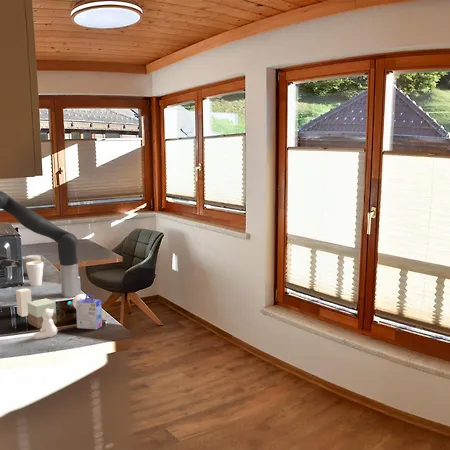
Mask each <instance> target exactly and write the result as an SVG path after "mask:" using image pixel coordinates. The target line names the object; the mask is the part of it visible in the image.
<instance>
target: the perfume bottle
mask: <svg viewBox="0 0 450 450" xmlns="http://www.w3.org/2000/svg"><path fill="white" fill-rule="evenodd" d="M85 298H86V294H83V293H81V294H79V295H77V296H74V298H73V299H72V301H71V300H70V301H68V302H67V305H68V306H70V308H72V307H74V308H75V309H76V302H77V301H79V300H80V299H85ZM87 298H89V296H87Z"/></svg>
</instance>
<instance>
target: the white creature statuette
mask: <svg viewBox="0 0 450 450" xmlns="http://www.w3.org/2000/svg"><path fill="white" fill-rule="evenodd" d="M53 312H54V309H49V308H47V309H45V311H44V312H43V316H42V318H43V323H42V327H40V328H39V332H36V333H34V334H33V339H34V340H40V339H41V340H42V339H47V338H53V337H55V336H56V335H57V333H58V327H57V326H56V325H55V324H54V322H53V320H52V316H53Z"/></svg>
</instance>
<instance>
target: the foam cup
mask: <svg viewBox="0 0 450 450" xmlns="http://www.w3.org/2000/svg"><path fill="white" fill-rule="evenodd" d="M44 265H45V264H44V261H42V260H41V261H32V262H28V263H26V262H25V268H26V273H27V272H28V275H27V276H28V281H29V286H31V287H37V286H42V284H43V272H44Z"/></svg>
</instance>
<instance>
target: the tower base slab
mask: <svg viewBox="0 0 450 450" xmlns="http://www.w3.org/2000/svg"><path fill="white" fill-rule="evenodd" d="M52 320H53V322H54V325H55V324H57V321H58V319H57V312H56V313H54V314H53V316H52ZM27 321H28V322H27V323H28V325H31V326H32V327H34V328H37V329H41V328H42V323H43V318H42V316H41V317H35V316H33V315H31V314H29V313H28V316H27Z"/></svg>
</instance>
